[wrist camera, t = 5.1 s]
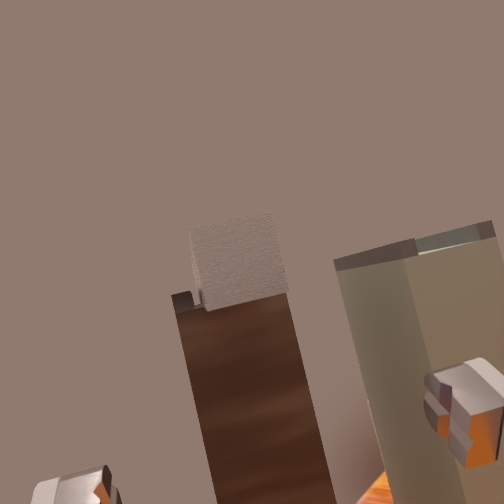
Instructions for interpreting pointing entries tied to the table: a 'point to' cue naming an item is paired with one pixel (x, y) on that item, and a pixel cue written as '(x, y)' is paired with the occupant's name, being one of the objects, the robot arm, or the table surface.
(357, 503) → the table surface
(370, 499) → the table surface
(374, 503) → the table surface
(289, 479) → the walnut stand
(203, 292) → the steel bar
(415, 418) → the sage stand
